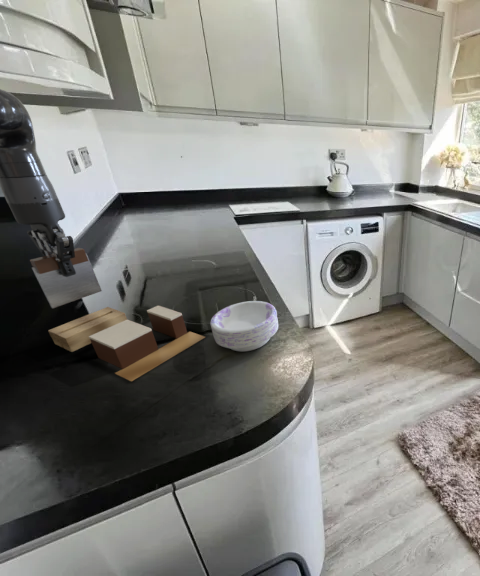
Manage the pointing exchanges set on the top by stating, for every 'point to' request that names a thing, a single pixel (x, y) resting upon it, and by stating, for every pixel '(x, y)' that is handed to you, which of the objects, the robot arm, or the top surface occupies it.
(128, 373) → the cutting board
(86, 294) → the cake cutter
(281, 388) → the top surface
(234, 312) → the paper bowls
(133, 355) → the loaf cake
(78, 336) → the knife block
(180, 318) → the cake slice
